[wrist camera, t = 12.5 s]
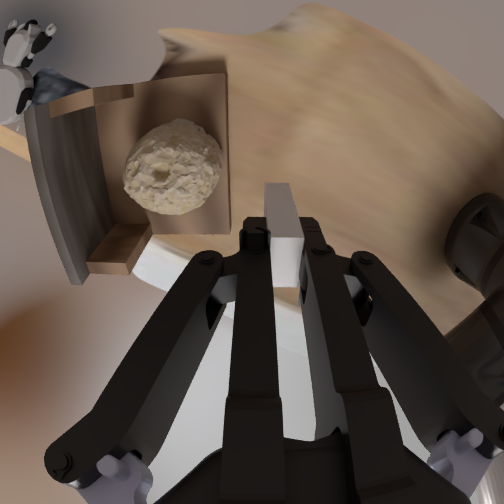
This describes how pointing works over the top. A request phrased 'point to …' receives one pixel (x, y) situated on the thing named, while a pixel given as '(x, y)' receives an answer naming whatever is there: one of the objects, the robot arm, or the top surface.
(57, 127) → the walnut shelf
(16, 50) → the robot toy
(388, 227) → the top surface
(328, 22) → the top surface
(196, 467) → the robot arm
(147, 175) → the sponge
